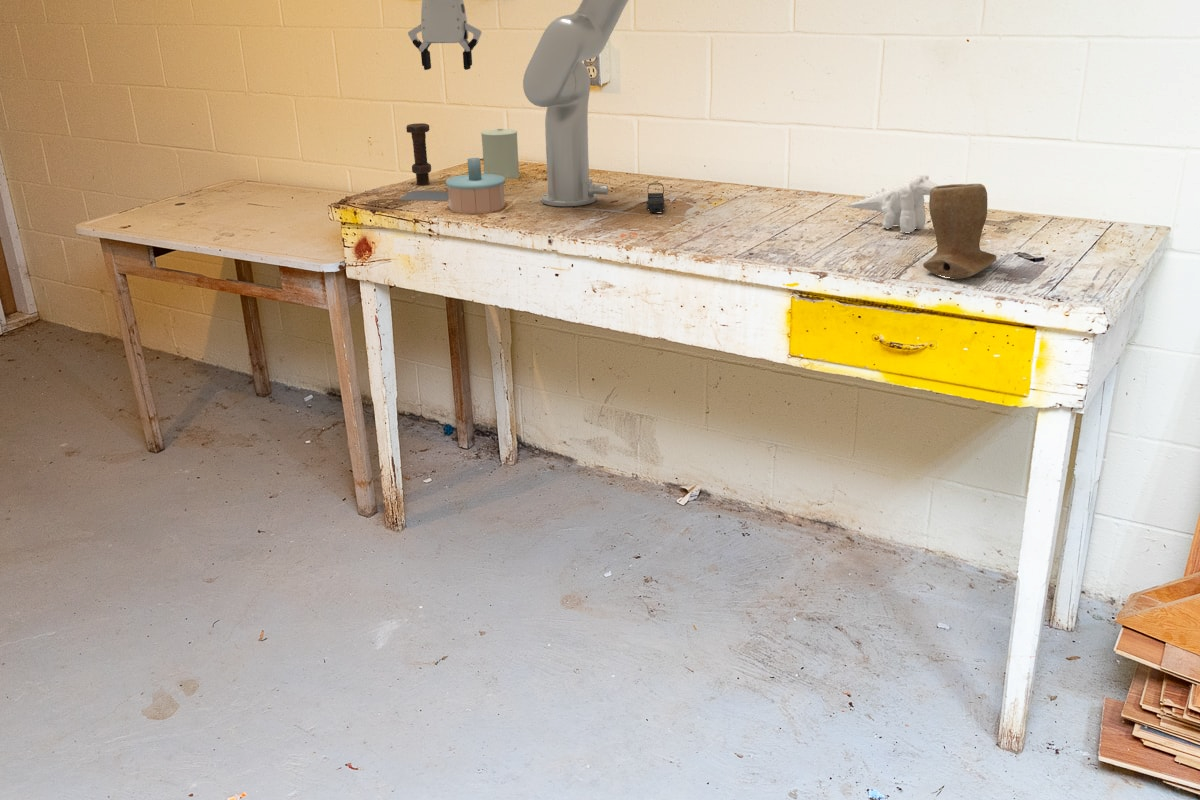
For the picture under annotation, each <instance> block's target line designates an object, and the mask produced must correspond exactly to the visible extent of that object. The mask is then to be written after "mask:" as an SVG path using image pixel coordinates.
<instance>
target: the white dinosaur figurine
mask: <svg viewBox="0 0 1200 800" xmlns="http://www.w3.org/2000/svg"><path fill="white" fill-rule="evenodd" d="M929 179H930V177H929V175H927V174H919V175H916V176H914V177H912V178H910V179H909V181H907V182H905V183H903V184H900V185H897V186H895V187H893V188H892V189H888V190H886V189H885V188H881V192H880V191H879V190H876V191H875V192H876V194H875V195H874V194H873V193H871V194H870V196H869V197H868V196H865V197H864V199H861V198H857V201H856V202H853V203H850V204H848V205H844V207H846V208H849V209H850V208H851V209H859V210H866V211H877V212H880V213H882V214H883V221H882V223H881V224H882V226H881V227H884V228H891V229H892V228H893V227H894V226H893V225H899V228H900V231H902V232H901V233H903V232H912V233H913V232H914V231H915V228H916V229H920V230H922V229H923V228H924V227H925V225H926V221H927V220H926V219H927V218H926V215H927V214H926V209H925V196H930V191H931V189H932V188H934V187H936V186H940V184H939V185H938V184H937V183H935V182H933V181H931V180H929ZM884 228H883V229H884ZM921 228H922V229H921Z"/></svg>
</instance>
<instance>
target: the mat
mask: <svg viewBox="0 0 1200 800" xmlns="http://www.w3.org/2000/svg"><path fill="white" fill-rule="evenodd" d="M397 201H422V202H423V201H431V202H435V201H436V202H447V201H448V202H449V199H448V190H447V191H445V190H411V191H409V192H408V193H406V194H405V195H403V196H401V197H400V198H399V199H397Z"/></svg>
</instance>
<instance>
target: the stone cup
mask: <svg viewBox="0 0 1200 800" xmlns="http://www.w3.org/2000/svg"><path fill="white" fill-rule="evenodd" d="M928 200H929V202H928V203H929V204H928V207H929V209H928V210H929V215H930V219H931V222H932V226H933V227H932V228H933V229H934V235H935V239H936V245H937V246H936V252H935V253H934V254H933V255H932V256H931V257H930V258H928V260H927V261H925V262H923V264H922V266H923V269H926V270H927V271H928V272H930V273H932V274H933V273H934V275H935V274H937V275H941V276H945V277H950V278H954V279H953V280H960V279H961V280H962V279H967V278H971V277H972V276H975V275H977V274H978V273H980V272H982V271H983V270H986V269H987V268H989V267H990V266H991V265H992V264H994V263H995V262H996V260H997V255H995V254H993V253H990V252H987V251H983V250H981V247H980V242H981V238H982V234H983V228H984V226H985V224H986V221H987V217H988V192H987V189H986V186H985V185H984V184H982V183H967V184H964V183H959V184H958V183H957V184H956V183H955V184H944V185H942V184H941V185H939V186H936V187H934V188H932V189H931V191H930V195H929V199H928ZM937 275H936V276H937Z"/></svg>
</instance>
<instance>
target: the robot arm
mask: <svg viewBox="0 0 1200 800" xmlns="http://www.w3.org/2000/svg"><path fill="white" fill-rule="evenodd" d="M628 1H629V0H582V1H581V3H580V4H579V6H578V8H577V9H576V11H574V13H572V14H565V15H561V16H559V17H557V18H555V19H554V20H552V21H551V22H550V24H548V26H547V27H546V28H545V30H544V32H543V33H542V35H541V37H540V40H539V42H538V44H537V46H536V48H535V50H534V52H533V54H532V56H531V58H530V60H529V61H528V64H527V66H526V69H525V72H524V75H523V79H522V88H523V92H524V95H525V97H526V99H527V100H528V101H529V102H530V103H531V104H533V105H534V106H535V107H540V108H546V110H545V118H544V127H545V129H544V130H545V132H544V133H545V134H544V135H545V155H546V158H545V159H546V177H547V192H546V193H544V194H543V195H542V196H541V202H542V204H543V205H544V204H545V205H548V206H552V207H553V206H554V207H578V206H586V205H590V204H593V203H595V202H596V201H597V195H608V194H609V187H608V185H605V184H595V183H593V179H592V178H590V168H589V167H590V165H589V131H588V130H589V129H588V128H589V127H588V125H589V123H588V121H589V120H588V115H589V114H588V113H589V109H588V108H589V99H590V91H591V76H590V72H589V70H588V68H587V66H586V64H585V63H584V61H589V60H592V59H594V58H597V57H598V56H599V55H600V54H601V53H602V52H603V50H604V49H605V47H606V45H607V43H608V41H609V39H610V38H611V35H612V33H613V31H614V29H615V28H616V26H617V23H618V21H619V19H620V17H621V15H622V13H623V11H624V10H625V7H626V6H627V4H628ZM420 11H421V13H420V14H421V16H420V23H421V24H419V25H417V26H415V27H414V28H412V29H411V30H409V31H408V32H407V34H408V36H409V38H410V40H411V42H412V45H413V46H414V47H415V48H417V50H418V51H419V52H420V59H421V67H423V69H424V71H428V70H431V69H432V61H431V52H430V50H429V48H430V46H431V45H432V44H459V45H460V46H461V48H463V49H464V51H462V60H463V61H462V62H463V63H462V64H463V69H464V71H465V70H466V71H467V70H470V69H471V66H472V65H473V56H472V55H473V53H472V51H473V50H474V48H475V47H476V46H477V44H479V40H480V38H481V36H482V30H481V29H479V28H477V27H475V26H474V25H471V24H469V23H468V18H467V12H466V7H465V2H464V0H421V10H420ZM419 33H421V38H422V41H421V40H420V39H419V38H418V34H419ZM469 33H472V35H473V36H472V39H471V40H470V41H469V40H468V39H469V35H470V34H469Z"/></svg>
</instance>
